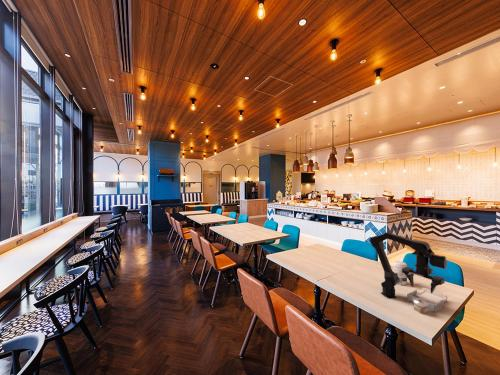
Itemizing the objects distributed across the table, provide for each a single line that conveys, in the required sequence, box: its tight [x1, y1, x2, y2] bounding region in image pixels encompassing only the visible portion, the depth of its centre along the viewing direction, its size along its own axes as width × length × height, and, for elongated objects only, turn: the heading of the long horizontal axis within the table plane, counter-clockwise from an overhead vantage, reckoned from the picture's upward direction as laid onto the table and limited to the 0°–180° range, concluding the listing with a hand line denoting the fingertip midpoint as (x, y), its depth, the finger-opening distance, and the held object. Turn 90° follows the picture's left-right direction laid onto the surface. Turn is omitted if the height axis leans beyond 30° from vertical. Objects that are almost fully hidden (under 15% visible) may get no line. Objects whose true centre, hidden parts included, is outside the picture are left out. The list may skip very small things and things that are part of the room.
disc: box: [412, 298, 428, 308], centre depth 119 cm, size 7×7×2 cm
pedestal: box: [413, 304, 428, 314], centre depth 119 cm, size 4×4×4 cm
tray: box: [415, 287, 448, 304], centre depth 131 cm, size 12×12×4 cm
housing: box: [406, 289, 445, 313], centre depth 127 cm, size 12×14×4 cm
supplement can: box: [393, 260, 408, 286], centre depth 153 cm, size 8×8×15 cm
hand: (421, 289), depth 121 cm, fingers open, 9 cm apart
